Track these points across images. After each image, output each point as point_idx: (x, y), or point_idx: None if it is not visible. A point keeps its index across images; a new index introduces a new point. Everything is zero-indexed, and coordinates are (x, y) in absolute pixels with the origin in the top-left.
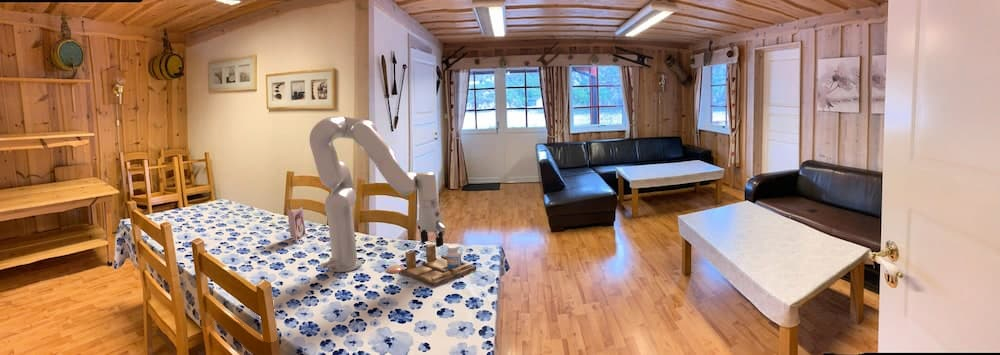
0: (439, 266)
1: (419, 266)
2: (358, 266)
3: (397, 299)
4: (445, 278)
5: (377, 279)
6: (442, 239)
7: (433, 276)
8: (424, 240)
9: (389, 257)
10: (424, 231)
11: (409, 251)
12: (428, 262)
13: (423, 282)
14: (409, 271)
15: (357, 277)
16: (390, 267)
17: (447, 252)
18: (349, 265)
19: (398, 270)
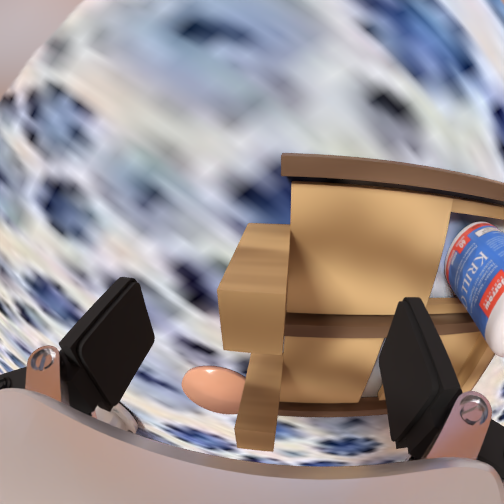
0: (398, 297)
1: (295, 352)
2: (123, 411)
3: (400, 451)
4: (488, 364)
5: None
6: (439, 349)
7: None
8: (142, 332)
9: (73, 312)
10: (81, 391)
11: (243, 439)
12: (289, 293)
13: None
14: (304, 398)
15: (192, 440)
16: (190, 392)
17: (501, 353)
18: (122, 428)
19: None
